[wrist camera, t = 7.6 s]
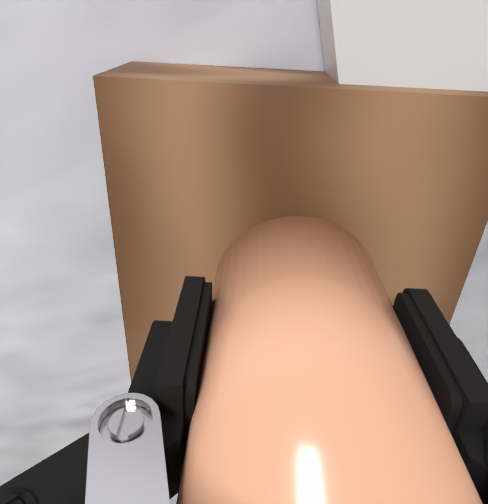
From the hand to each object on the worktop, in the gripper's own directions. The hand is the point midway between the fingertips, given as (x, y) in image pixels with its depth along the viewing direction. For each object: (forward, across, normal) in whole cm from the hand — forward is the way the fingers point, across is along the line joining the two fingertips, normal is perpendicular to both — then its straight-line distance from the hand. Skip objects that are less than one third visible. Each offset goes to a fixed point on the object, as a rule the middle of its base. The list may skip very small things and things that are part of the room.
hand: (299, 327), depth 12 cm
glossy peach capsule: (+2, 0, 0) cm, 2 cm away
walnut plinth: (+7, 0, 0) cm, 7 cm away
